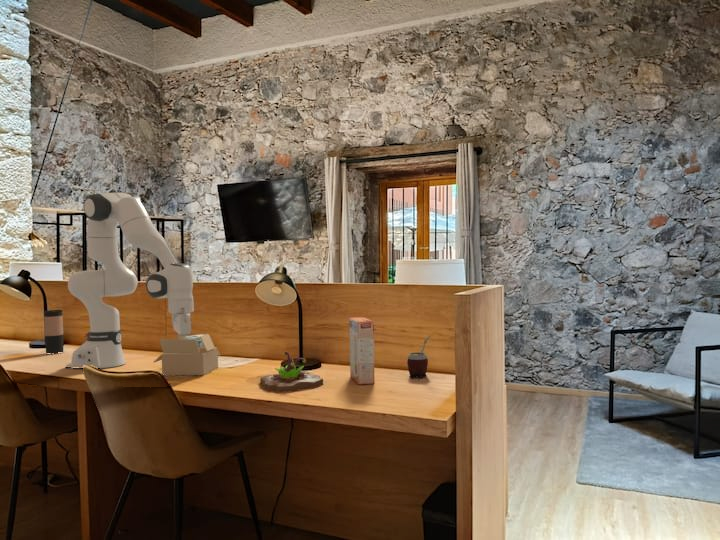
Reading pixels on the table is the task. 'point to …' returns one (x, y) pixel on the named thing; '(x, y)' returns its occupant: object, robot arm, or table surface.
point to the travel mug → (53, 331)
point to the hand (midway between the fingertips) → (182, 345)
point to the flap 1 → (179, 345)
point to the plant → (290, 378)
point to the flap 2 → (207, 342)
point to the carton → (189, 362)
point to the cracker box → (362, 350)
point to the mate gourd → (418, 363)
